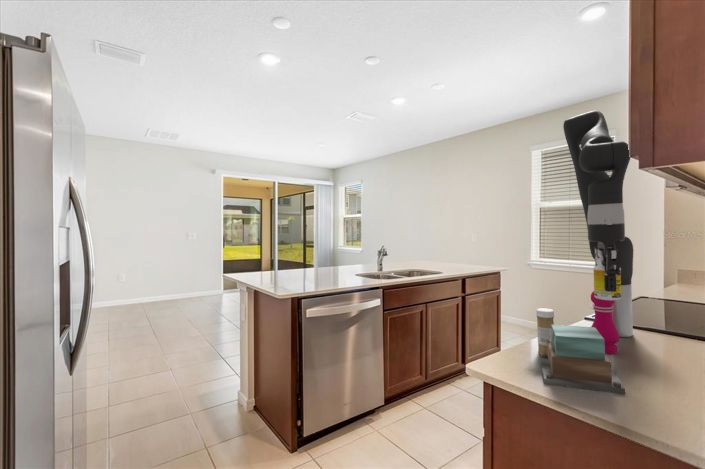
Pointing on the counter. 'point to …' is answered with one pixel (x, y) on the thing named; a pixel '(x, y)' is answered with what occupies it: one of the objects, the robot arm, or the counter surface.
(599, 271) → the supplement bottle
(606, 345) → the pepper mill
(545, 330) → the sprinkles bottle
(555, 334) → the layered slab stack
